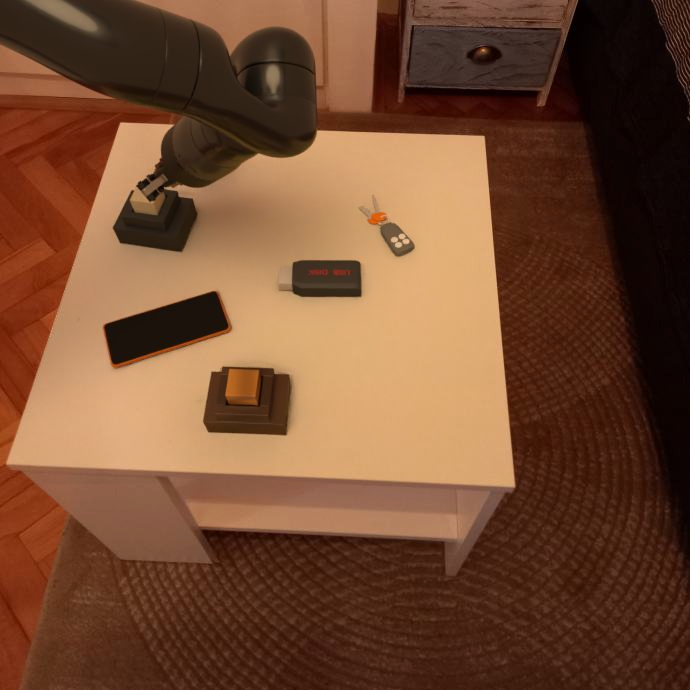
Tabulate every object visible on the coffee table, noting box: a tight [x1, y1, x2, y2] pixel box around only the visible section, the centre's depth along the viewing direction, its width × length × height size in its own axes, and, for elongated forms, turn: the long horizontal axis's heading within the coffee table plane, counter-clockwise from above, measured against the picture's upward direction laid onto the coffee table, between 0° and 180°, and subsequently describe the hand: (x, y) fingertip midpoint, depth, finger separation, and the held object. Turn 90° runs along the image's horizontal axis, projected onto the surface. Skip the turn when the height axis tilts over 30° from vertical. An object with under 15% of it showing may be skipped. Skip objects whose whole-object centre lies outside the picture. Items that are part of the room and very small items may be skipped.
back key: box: [130, 183, 166, 216], centre depth 86 cm, size 4×4×2 cm
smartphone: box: [102, 290, 232, 369], centre depth 81 cm, size 8×17×1 cm, turn 112°
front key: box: [225, 369, 261, 405], centre depth 70 cm, size 4×4×2 cm
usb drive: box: [278, 259, 362, 298], centre depth 85 cm, size 5×12×3 cm, turn 90°
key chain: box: [358, 194, 415, 257], centre depth 91 cm, size 13×4×2 cm, turn 29°
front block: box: [202, 365, 292, 436], centre depth 73 cm, size 10×7×6 cm
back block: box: [112, 188, 198, 253], centre depth 89 cm, size 10×8×6 cm
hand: (157, 181), depth 79 cm, fingers closed
